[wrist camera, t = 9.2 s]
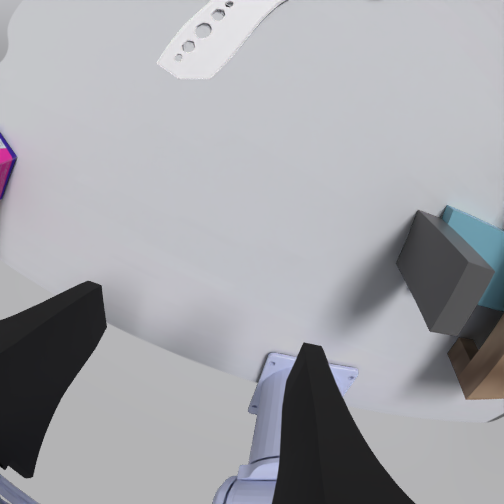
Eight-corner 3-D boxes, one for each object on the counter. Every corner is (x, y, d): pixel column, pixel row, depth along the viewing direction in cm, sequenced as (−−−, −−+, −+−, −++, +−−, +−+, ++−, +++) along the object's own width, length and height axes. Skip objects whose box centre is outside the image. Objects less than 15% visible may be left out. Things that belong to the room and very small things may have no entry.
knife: (108, 149, 17) (75, 57, 14) (121, 145, 19) (89, 57, 16) (528, 44, 8) (484, -51, 5) (516, 46, 10) (475, -44, 7)
